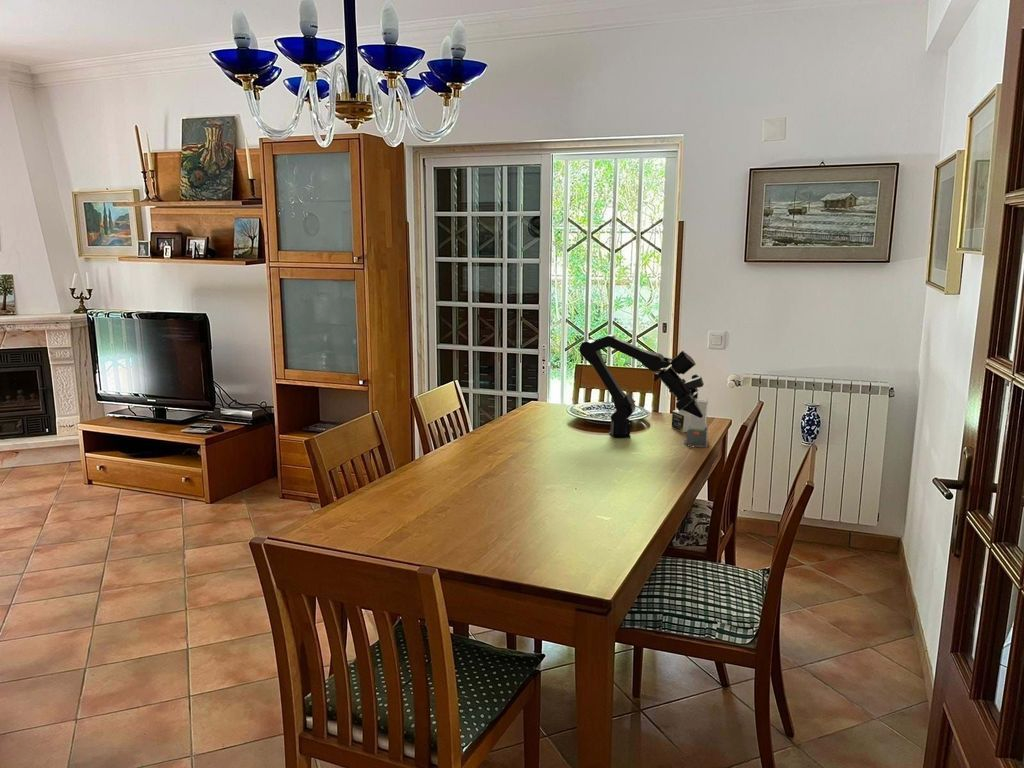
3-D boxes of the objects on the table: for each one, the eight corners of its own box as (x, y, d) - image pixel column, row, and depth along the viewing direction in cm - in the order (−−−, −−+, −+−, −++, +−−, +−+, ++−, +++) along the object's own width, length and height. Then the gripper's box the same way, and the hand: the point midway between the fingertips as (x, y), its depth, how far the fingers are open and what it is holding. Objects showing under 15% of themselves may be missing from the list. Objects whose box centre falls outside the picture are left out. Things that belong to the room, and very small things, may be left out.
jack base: (682, 446, 266) (683, 430, 264) (685, 439, 274) (686, 424, 273) (708, 449, 263) (709, 433, 261) (710, 442, 271) (711, 427, 270)
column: (689, 433, 266) (691, 400, 263) (691, 429, 270) (693, 397, 268) (704, 434, 264) (706, 402, 261) (705, 431, 269) (708, 399, 266)
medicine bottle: (671, 428, 289) (673, 398, 286) (685, 426, 292) (687, 396, 289) (682, 432, 283) (684, 402, 280) (697, 431, 286) (699, 400, 283)
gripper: (688, 373, 255) (718, 407, 254) (694, 363, 272) (722, 396, 271) (663, 393, 259) (693, 427, 258) (670, 382, 276) (698, 414, 275)
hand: (702, 415), depth 265 cm, fingers closed on column, 5 cm apart
